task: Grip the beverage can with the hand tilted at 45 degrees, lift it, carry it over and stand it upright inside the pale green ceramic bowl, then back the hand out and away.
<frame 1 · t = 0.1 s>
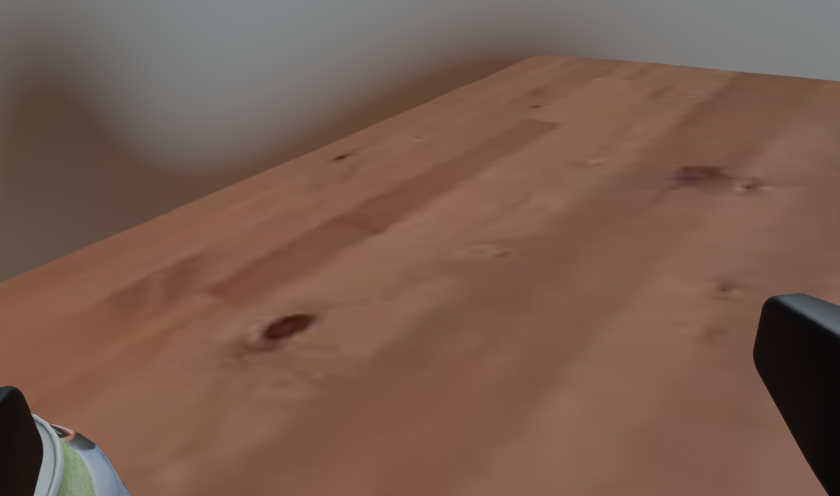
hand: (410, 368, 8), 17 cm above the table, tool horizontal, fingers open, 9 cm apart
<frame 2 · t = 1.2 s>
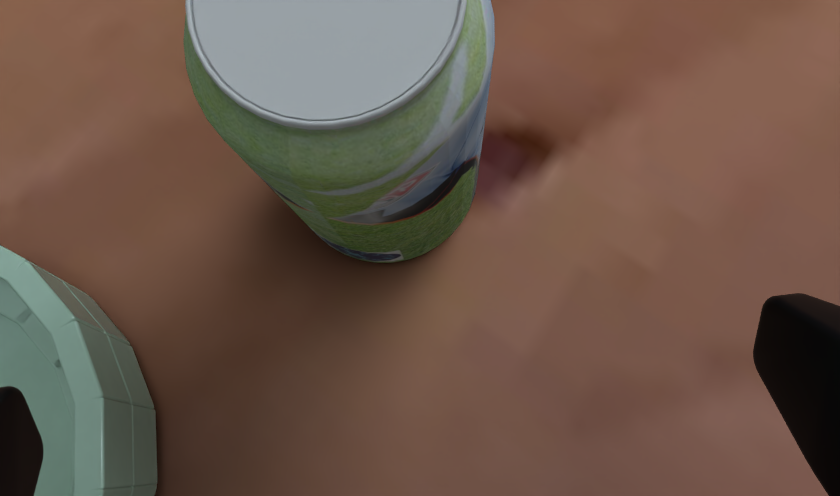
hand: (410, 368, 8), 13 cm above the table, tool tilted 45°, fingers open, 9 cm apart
beverage can: (372, 202, 23), on the table
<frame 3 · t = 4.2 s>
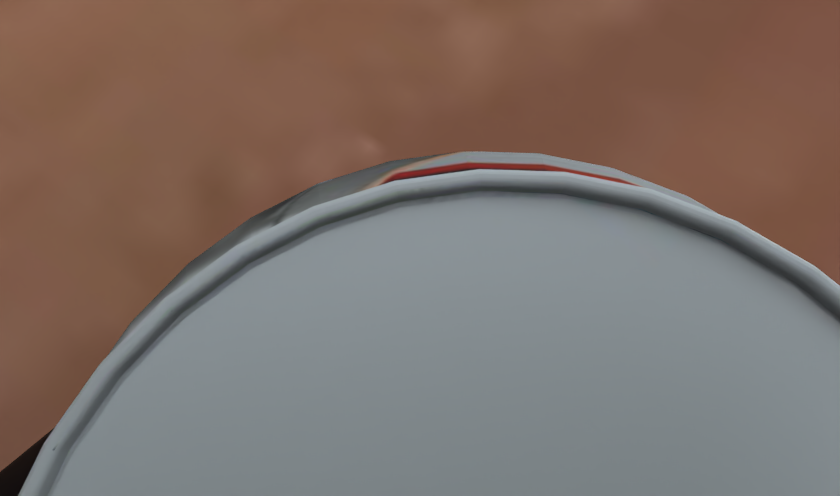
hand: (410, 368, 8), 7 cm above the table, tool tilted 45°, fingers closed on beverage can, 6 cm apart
beverage can: (426, 480, 14), on the table, touching gripper
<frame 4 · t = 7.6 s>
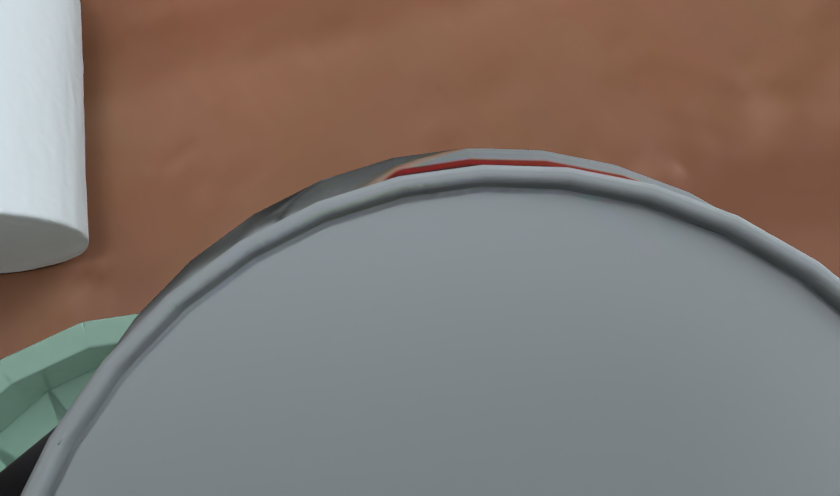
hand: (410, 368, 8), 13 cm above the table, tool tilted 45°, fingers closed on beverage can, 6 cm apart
roll: (26, 108, 24), on the table
beverage can: (427, 479, 14), point 6 cm above the table, touching gripper
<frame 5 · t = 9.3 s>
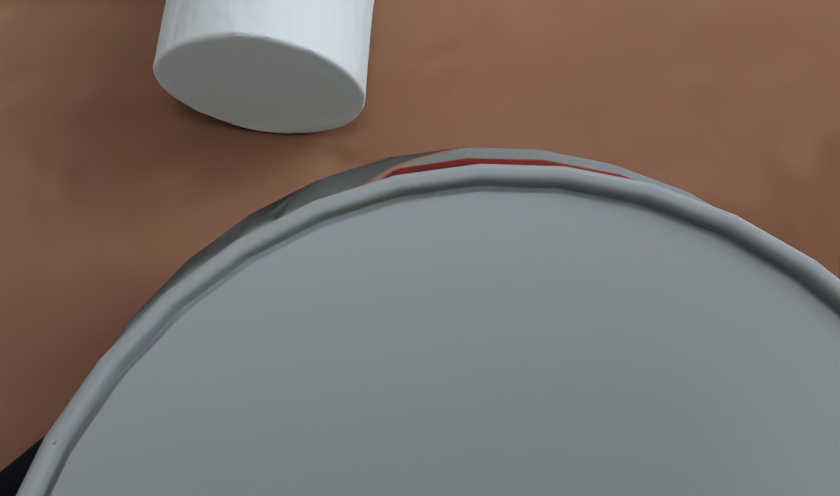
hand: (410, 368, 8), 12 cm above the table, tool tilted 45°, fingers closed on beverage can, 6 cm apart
beverage can: (426, 479, 14), point 5 cm above the table, touching gripper
when the fingers open (7 cm above the table, at t = 11.0 s): beverage can stays where it is, resting on bowl.
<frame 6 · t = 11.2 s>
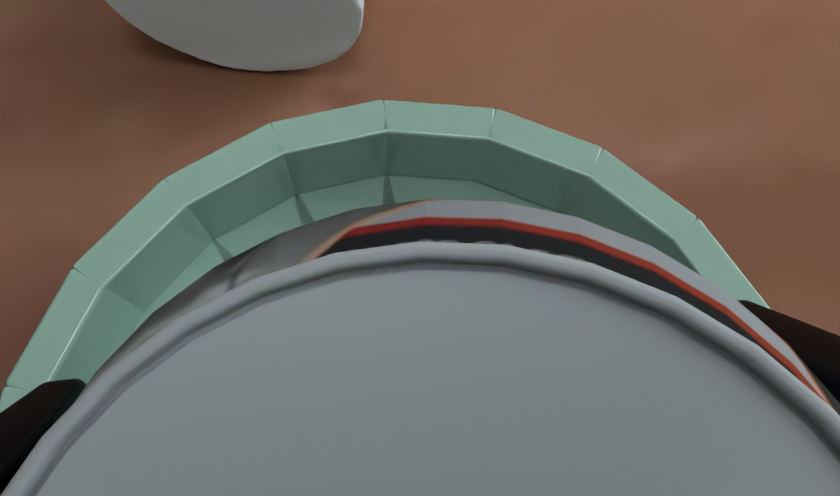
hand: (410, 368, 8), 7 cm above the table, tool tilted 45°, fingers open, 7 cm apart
beverage can: (430, 487, 14), resting on bowl
bowl: (408, 475, 15), on the table
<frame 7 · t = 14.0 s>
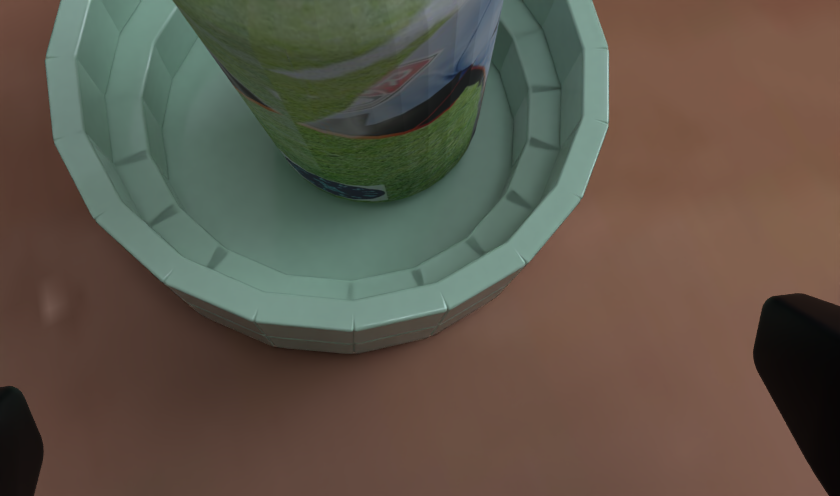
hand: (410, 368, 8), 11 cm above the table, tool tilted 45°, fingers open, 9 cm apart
beverage can: (357, 136, 20), resting on bowl
bowl: (343, 134, 21), on the table
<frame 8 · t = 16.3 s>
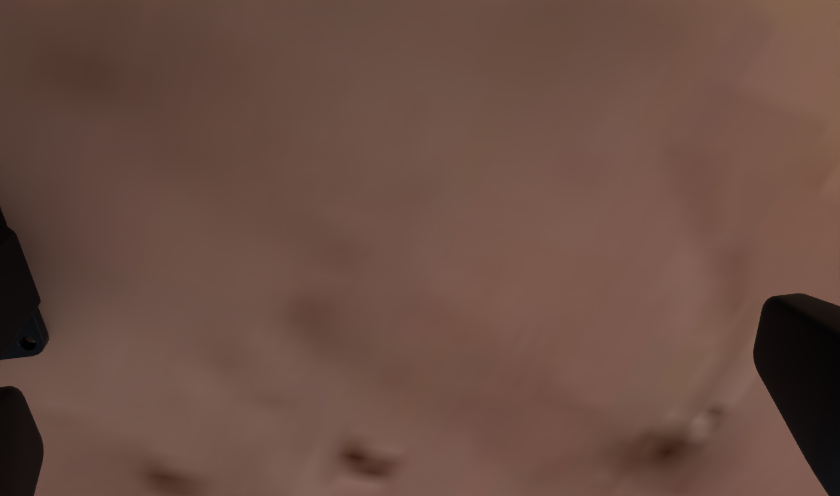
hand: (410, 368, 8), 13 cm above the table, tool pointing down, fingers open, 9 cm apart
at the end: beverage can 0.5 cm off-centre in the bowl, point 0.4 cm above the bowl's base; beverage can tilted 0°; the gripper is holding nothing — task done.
